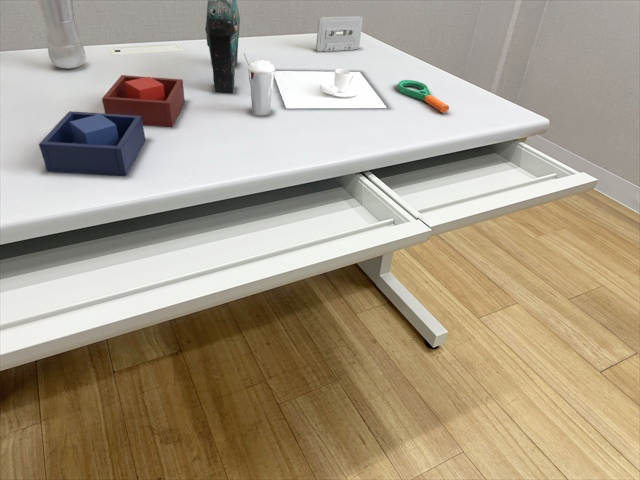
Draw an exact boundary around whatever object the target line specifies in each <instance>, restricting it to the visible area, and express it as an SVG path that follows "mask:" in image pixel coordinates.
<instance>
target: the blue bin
mask: <svg viewBox="0 0 640 480" xmlns="http://www.w3.org/2000/svg"><path fill="white" fill-rule="evenodd" d="M98 114H101V115H103V116H104V117H106V118H107V119H109V120H110V121H111V122H113V123H114V124H116V127H117V132H118V137H119V143H118V145H117V146H110V145H93V144H76V143H75V140H74V137H73V133H72V129H71V125H70V121H74V120H78V119H82V118H86V117H90V116H94V115H98ZM145 143H146V135H145V129H144V125H143V121H142V116H135V115H119V114H105V112H104V113H102V112H88V111H74V110H73V111H72V110H69V111H68V112H67V113H66V114H65V115H64V116H63V117H62V118H61V119H60V120H59V122H58V123H57V124H56V125H55V126H54V127H53V128H52V129H51V130H50V131H49V132H48V134H46V136H45V137H44V138H43V139H42V140H41V141H40V142H39V143H38V146H39V149H40V153H41V155H42V159H43V162H44V165H45V169H46V172H50V173H51V172H52V173H67V174H69V173H71V174H84V175H85V174H86V175H103V176H105V175H107V176H121V177H123V176H124V177H126V176H127V175H128V174H129V172H130V170H131V168H132V166H133V165H134V163H135V161H136V159H137V158H138V155H139V154H140V153H141V150H142V148H143V146H144V145H145Z"/></svg>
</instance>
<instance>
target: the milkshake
mask: <svg viewBox="0 0 640 480" xmlns="http://www.w3.org/2000/svg"><path fill="white" fill-rule="evenodd" d="M243 56H244V59H245V61H246V64H247V71H248V79H249V89H250V100H251V112H252V113H251V114H253V115H254V116H259V117H265V116H268V115H270V113H271V106H272V94H273V86H274V79H275V77H274V71H276V68H275V66H274V65H273V64H272V62H271V61H269V60H265V59H263V58H262V59H260V60H254V61H251V62H250V63H249V60H248V58H247V56H246V53H243Z"/></svg>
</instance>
